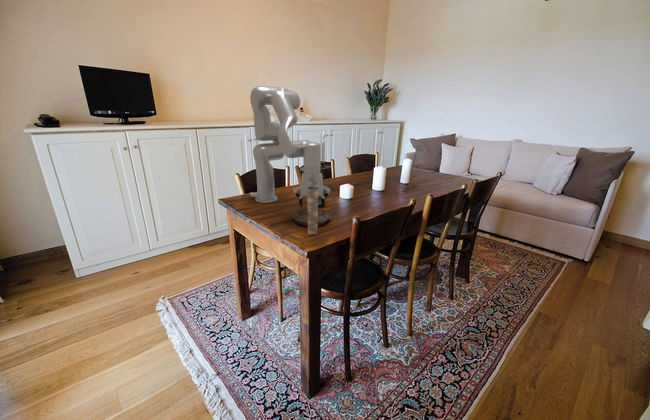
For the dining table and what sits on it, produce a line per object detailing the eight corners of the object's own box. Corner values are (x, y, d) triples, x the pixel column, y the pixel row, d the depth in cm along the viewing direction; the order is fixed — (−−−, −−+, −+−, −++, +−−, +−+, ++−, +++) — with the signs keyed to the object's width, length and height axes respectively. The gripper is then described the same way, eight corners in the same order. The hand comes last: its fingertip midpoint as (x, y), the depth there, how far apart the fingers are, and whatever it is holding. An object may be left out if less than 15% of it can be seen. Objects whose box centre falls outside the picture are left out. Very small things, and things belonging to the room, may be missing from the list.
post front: (307, 234, 119) (308, 187, 112) (307, 226, 127) (307, 181, 120) (317, 234, 120) (318, 187, 112) (316, 226, 127) (317, 181, 120)
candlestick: (329, 185, 193) (331, 133, 180) (331, 190, 183) (333, 134, 170) (314, 185, 192) (314, 132, 180) (314, 190, 182) (315, 134, 170)
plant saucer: (302, 212, 145) (302, 206, 144) (335, 217, 139) (335, 211, 138) (286, 224, 129) (286, 218, 128) (321, 231, 123) (321, 224, 122)
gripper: (292, 172, 122) (293, 209, 128) (331, 172, 123) (330, 209, 129) (292, 168, 129) (293, 203, 135) (330, 168, 130) (329, 203, 136)
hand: (311, 206), depth 132 cm, fingers open, 9 cm apart
